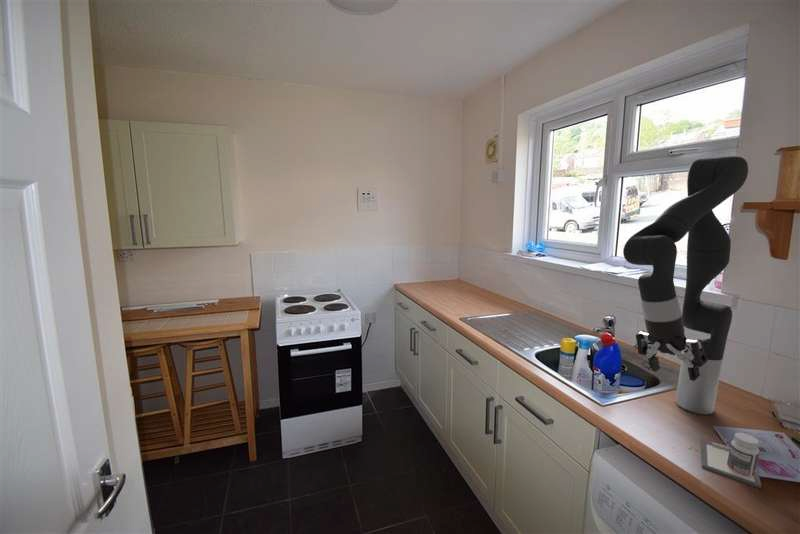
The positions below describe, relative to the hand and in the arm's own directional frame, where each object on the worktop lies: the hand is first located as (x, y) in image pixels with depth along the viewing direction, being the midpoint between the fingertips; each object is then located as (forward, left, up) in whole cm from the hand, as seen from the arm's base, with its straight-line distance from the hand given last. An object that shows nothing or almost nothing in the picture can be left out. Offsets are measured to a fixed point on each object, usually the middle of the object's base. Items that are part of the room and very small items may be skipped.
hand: (674, 374), depth 90 cm
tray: (-1, +13, -19) cm, 23 cm away
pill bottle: (+1, +15, -19) cm, 24 cm away
